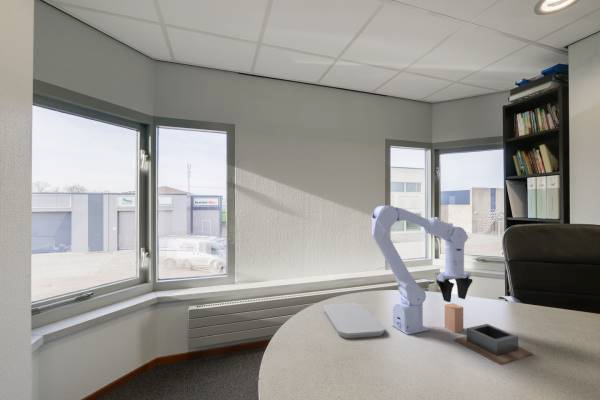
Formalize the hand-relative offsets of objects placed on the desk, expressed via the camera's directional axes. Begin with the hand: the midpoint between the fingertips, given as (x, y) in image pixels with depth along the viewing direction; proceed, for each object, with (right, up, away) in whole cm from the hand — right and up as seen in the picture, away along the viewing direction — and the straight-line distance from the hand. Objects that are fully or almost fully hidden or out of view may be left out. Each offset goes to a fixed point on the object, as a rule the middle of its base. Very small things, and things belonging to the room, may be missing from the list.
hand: (454, 299), depth 96 cm
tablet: (-35, -10, +5) cm, 37 cm away
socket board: (+4, -10, -13) cm, 17 cm away
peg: (-1, -10, -1) cm, 10 cm away
